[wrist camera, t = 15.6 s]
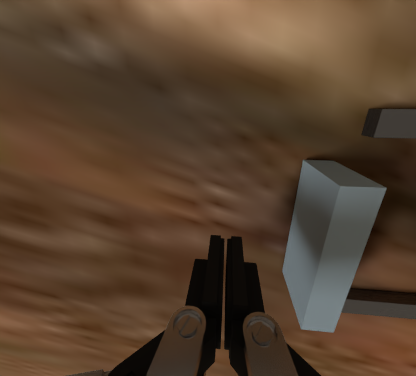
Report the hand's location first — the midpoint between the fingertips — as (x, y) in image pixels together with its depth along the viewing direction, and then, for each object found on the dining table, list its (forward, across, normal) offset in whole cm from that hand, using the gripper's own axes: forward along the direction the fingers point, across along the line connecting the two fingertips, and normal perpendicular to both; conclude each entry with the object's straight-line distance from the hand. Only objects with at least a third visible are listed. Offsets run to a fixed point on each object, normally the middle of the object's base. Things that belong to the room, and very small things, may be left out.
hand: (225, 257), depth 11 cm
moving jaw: (+5, -6, +1) cm, 8 cm away
